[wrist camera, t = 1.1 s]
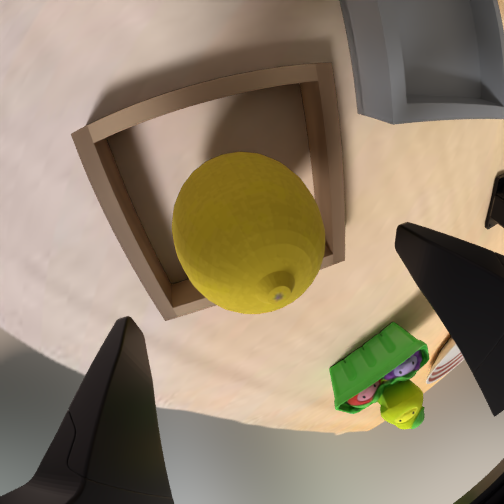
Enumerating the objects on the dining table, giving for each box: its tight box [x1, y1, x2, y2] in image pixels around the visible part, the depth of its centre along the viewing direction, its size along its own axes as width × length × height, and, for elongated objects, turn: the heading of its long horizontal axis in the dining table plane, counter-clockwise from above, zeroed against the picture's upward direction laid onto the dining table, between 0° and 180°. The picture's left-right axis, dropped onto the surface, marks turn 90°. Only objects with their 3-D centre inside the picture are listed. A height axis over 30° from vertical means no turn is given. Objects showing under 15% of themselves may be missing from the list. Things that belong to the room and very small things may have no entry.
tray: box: [339, 0, 504, 124], centre depth 8 cm, size 14×14×3 cm
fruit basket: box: [329, 322, 429, 429], centre depth 25 cm, size 11×9×11 cm
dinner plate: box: [426, 337, 464, 384], centre depth 41 cm, size 27×27×3 cm
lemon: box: [172, 152, 325, 314], centre depth 11 cm, size 6×6×8 cm
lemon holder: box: [71, 63, 345, 321], centre depth 13 cm, size 11×11×2 cm
